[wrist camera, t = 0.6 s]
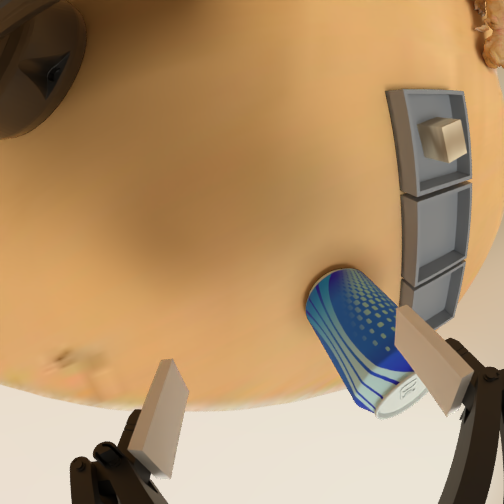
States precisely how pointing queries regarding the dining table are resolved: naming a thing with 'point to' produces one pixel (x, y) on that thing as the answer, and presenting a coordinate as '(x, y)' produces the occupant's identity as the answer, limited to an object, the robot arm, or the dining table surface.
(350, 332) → the beer can
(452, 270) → the tray
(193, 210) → the dining table surface
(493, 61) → the toy
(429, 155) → the beige cube
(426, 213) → the tray middle
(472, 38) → the dining table surface
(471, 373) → the robot arm
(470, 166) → the tray
